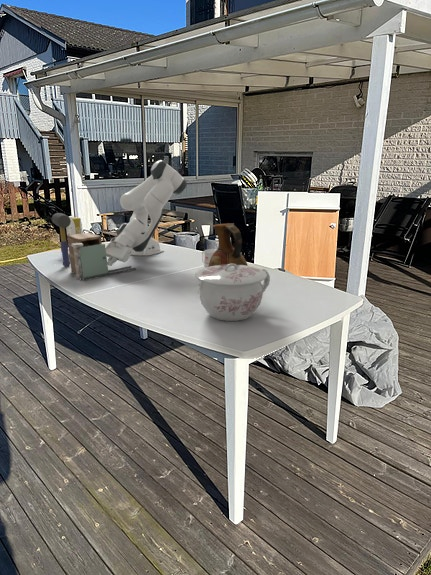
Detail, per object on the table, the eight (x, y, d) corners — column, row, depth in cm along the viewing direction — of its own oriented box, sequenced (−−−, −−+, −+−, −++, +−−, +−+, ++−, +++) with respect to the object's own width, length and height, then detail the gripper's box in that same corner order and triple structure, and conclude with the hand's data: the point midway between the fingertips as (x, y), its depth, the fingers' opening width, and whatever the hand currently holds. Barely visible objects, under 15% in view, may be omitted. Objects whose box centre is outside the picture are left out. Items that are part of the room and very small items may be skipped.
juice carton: (67, 253, 260) (63, 216, 253) (79, 251, 265) (75, 214, 258) (75, 255, 254) (70, 217, 247) (86, 253, 259) (82, 216, 252)
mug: (224, 270, 219) (224, 250, 215) (213, 274, 213) (212, 253, 209) (208, 266, 226) (208, 247, 223) (197, 270, 220) (196, 250, 217)
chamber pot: (188, 326, 147) (186, 271, 140) (203, 301, 172) (203, 253, 166) (264, 331, 142) (267, 275, 136) (269, 304, 168) (271, 256, 161)
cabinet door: (106, 273, 214) (102, 243, 210) (109, 274, 212) (105, 244, 208) (78, 279, 204) (74, 247, 200) (81, 279, 202) (77, 248, 198)
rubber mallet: (77, 267, 225) (70, 214, 216) (63, 270, 221) (56, 215, 212) (69, 263, 235) (63, 211, 226) (56, 265, 230) (49, 212, 221)
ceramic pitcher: (227, 277, 207) (227, 218, 198) (257, 285, 193) (259, 223, 184) (199, 285, 194) (198, 223, 185) (229, 294, 180) (230, 228, 171)
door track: (130, 267, 225) (130, 265, 225) (135, 269, 221) (135, 267, 221) (79, 278, 206) (79, 276, 205) (84, 280, 202) (84, 278, 201)
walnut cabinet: (92, 268, 225) (88, 232, 218) (108, 274, 212) (104, 237, 206) (63, 273, 214) (59, 236, 208) (79, 280, 201) (74, 241, 195)
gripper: (137, 250, 210) (122, 272, 207) (117, 244, 224) (103, 264, 221) (129, 243, 206) (114, 265, 203) (109, 238, 220) (95, 258, 217)
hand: (108, 265), depth 212 cm, fingers closed, pressing on cabinet door
